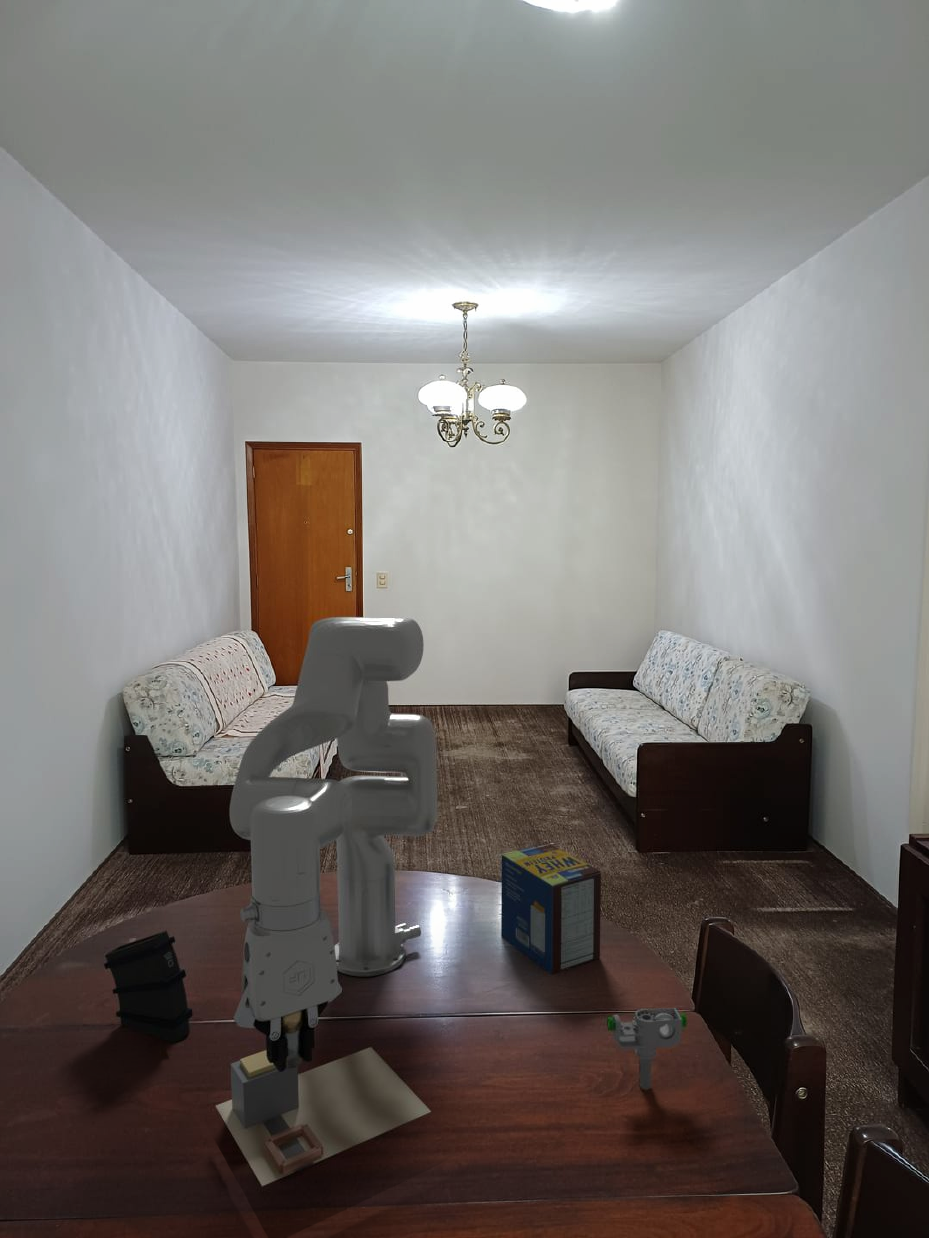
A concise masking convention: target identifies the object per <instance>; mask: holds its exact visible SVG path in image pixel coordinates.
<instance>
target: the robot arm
mask: <svg viewBox="0 0 929 1238" xmlns="http://www.w3.org/2000/svg"><path fill="white" fill-rule="evenodd" d="M310 627H311V628H310V629H309V635H308V642H307V646H306V650H305V653H304V658H303V662H302V666H301V669H300V673H299V678H298V682H297V686H296V689H295V692H294V693H295V694H294V697H293V702H292V704H291V706H290V707H289V708H287V709H286V710H284V711H283V712H281V713H280V714H278V715H277V716H276V717H274V718H273V719H272V720H271V721H269V723H267V724H266V725H265V726H264V727H263V729H261V730H260V731H259V732H258V733H257V734H256V736H254V738H253V739H251V741H250V743H248V745H247V747H246V749H245V751H244V752H243V755H242V756H241V757H242V758H241V761H240V764H239V767H238V771H237V774H236V778H235V780H234V785H233V789H232V792H231V798H230V803H229V822H230V824H231V827H232V829H233V832H234V833H235V834H237V835H238V836H239V837H241V839H245V840H247V841H250V855H251V858H250V860H251V863H250V865H251V889H252V893H251V894H252V896H250V904H249V905H248V906H246V907H244V908H241V909H240V919H241V921H242V922H247V921H249V922H248V924H247V928H246V932H245V939H244V944H243V950H242V951H243V952H242V965H241V967H242V968H241V998H240V1000H239V1003H238V1006H237V1008H236V1011H235V1014H234V1016H233V1021H234V1022H235V1024H236V1025H237V1026H238V1027H239V1028H248V1029H256V1030H257V1031H259V1033H262V1034H263V1035H264V1036H265V1050H266V1055H267V1059H268V1061H269V1062H270V1063H273V1064H274V1065H275V1067H276V1068H277V1069H278V1071H279V1072H282V1071H284V1070H285V1069H286V1049H285V1038H284V1037H283V1035H282V1034H281V1017H283V1016H286V1015H289V1014H292V1013H295V1012H299V1011H302V1027H301V1059H302V1060H303V1061H304V1062H306V1063H309V1062H311V1061H313V1055H312V1054H313V1053H312V1052H313V1051H312V1050H313V1049H314V1048H315V1027H316V1026H317V1025H318V1023H319V1018H320V1016H321V1014H322V1013H323V1012H324V1010H326V1008H327V1006H328V1004H329V1003H331V1002H332V1001H333V1000H334V999H335V998H338V996H339V995H341V994H342V991H343V988H342V985H341V984H340V982H339V981H338V980H339V979H338V976H339V975H338V972H340V973H341V974H344V975H348V976H353V977H360V978H361V977H363V978H364V977H365V978H366V977H374V976H375V977H376V976H380V975H384V974H387V973H389V972H393V971H394V970H396V969H397V968H398V967H400V966H401V965H402V964H403V962H404V961H405V957H406V956H405V955H406V950H405V946H404V945H403V944H405V943H406V941H407V940H412V939H416V938H418V937H421V935H422V931H421V927H420V925H418V924H416V925H413V926H409V927H408V926H407V924H406V923H403V922H402V923H400V924H396V864H395V863H396V861H395V857H394V856H395V855H394V853H393V850H392V848H391V846H390V845H389V842H387V840H386V839H385V837H384V836H398V837H399V836H401V837H402V836H404V837H406V836H407V837H412V836H413V837H417V836H418V837H421V836H425V835H427V834H429V833H430V832H431V831H432V830H433V829H434V828H435V825H436V822H437V817H438V816H437V815H438V776H437V773H438V771H437V745H436V744H437V742H436V740H437V739H436V733H435V729H434V726H433V724H432V722H431V721H430V719H428V718H427V717H426V716H424V715H421V714H415V713H414V714H413V713H392V711H390V706H389V685H388V682H402V681H405V680H407V679H408V678H410V676H412V675H413V674H414V673H415V672H416V671H417V670H418V669H419V667H420V664H421V663H422V662H421V661H422V659H423V655H424V643H425V642H424V636H423V635H424V634H423V631H422V629H421V626H420V625H419V623H417V621H416V620H414V619H412V618H403V617H365V616H363V617H361V616H355V617H354V616H339V617H337V616H336V617H327V618H326V617H325V618H323V619H320V620H317V621H315V622H314V623H313V624H312V626H310ZM336 739H337V740H336ZM333 740H336V741H337V743H336V745H337V752H338V758H339V761H340V762H341V765H342V766H343V767H344V768H346V769H348V770H350V771H354V772H362V773H387V774H388V773H389V774H390V773H392V774H393V773H394V774H395V773H396V774H404V775H405V776H388V775H354V776H348V777H346V778H343V779H341V780H339V781H338V780H336V779H330V778H312V777H311V778H310V777H306V778H305V777H291V776H290V777H286V776H283V777H282V776H271V775H272V773H273V772H274V771H275V769H276V768H277V767H278V766H279V765H281V764H282V763H283V762H285V761H286V760H288V759H289V758H291V757H293V756H296V755H298V754H300V753H303V752H304V751H308V750H311V749H314V748H315V747H319V746H321V745H323V744H326V743H328V742H330V741H333ZM335 841H336V843H335V844H336V854H337V855H336V860H337V908H338V910H337V911H338V912H337V913H338V915H337V916H338V919H337V920H338V943H335V941H334V935H333V931H332V926H331V925H332V924H331V921H330V916H329V914H328V913H327V912H326V911H325V910H323V909H322V903H321V902H322V899H321V894H322V893H321V892H322V891H321V858H320V857H321V855H320V853H321V851H320V850H321V849H324V848H326V847H327V846H329V845H330V844H332V843H334V842H335Z"/></svg>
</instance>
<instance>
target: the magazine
mask: <svg viewBox="0 0 929 1238" xmlns="http://www.w3.org/2000/svg"><path fill="white" fill-rule="evenodd" d="M175 942H176V939H175V936H169V933H168V931H167V930H164V931H161V932H158V933H155V934H153V935H149V936H147V937H143V938H140V939H138V940H134V941H132V942H128V943H125V944H122V945H119V946H118V947H116V948H114V949H113V950H110V951H109V952H107V953H105V954H104V957H105V959H106V962H105V963H104V964H103V967H104V969H105V970H108V969H109V970H110V972H111V975H112V978H113V980H114V981H113V982H114V984H115V988H114V989H112V994H113V995H115V994H116V995H117V997H118V1005H119V1010H117V1011H116V1012H115V1017H116V1018H120V1024H121V1026H123V1027H125V1028H128V1029H131V1030H135V1031H137V1032H141V1033H143V1034H146V1035H149V1036H153V1037H155V1038H159V1039H160V1040H164V1041H165V1042H166V1041H167V1042H170V1043H173V1044H177V1043H178V1042H179V1041H181V1040H182V1039H184V1038H185V1037H186V1036H187V1035H188V1034H190V1031H191V1030H190V1021H189V1019H190V1018H191V1017H193V1009H192V1008H189V1007H188V1001H187V992H186V987H185V983H184V978H186V977H187V974H186V970H185V969H181V968H180V964H179V960H178V956H177V953H176V951H175V948H174V946H173V944H174V943H175Z"/></svg>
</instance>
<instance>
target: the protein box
mask: <svg viewBox="0 0 929 1238" xmlns="http://www.w3.org/2000/svg"><path fill="white" fill-rule="evenodd" d="M500 885H501V890H500V891H501V893H500V895H501V896H500V897H501V898H500V899H501V906H500V907H501V909H500V911H501V913H500V915H501V919H500V922H501V924H500V925H501V926H500V927H501V928H500V930H501V931H500V936H501V938H503V939H504V940H505V941H507V942H508V943H510V944H511V945H512V946H514V947H515V948H516V949H518V950H519V951H520V952H522V953H523V954H524V955H526V956H527V957H528V958H529V959H531V960H532V961H533V962H535V963H536V964H537V965H538V966H540V967H541V968H542V969H544V970H545V971H546V972H548V973H549V974H551V975H552V974H553V975H554V974H556V973H559V972H562V971H565V970H568V969H572V968H574V967H577V966H579V965H583V964H586V963H589V962H592V961H595V960H598V959H600V958H601V917H602V916H601V913H602V912H601V909H602V908H601V907H602V906H601V903H602V871H601V870H599V869H598V868H596V867H594V866H592V865H590V864H588V863H586V862H585V861H583V860H581V859H579V858H578V857H575V856H573V855H571V854H569V853H568V852H566V851H564V850H562V849H560V848H558V847H557V846H555V845H553V844H551V843H549V842H546V843H543V844H536V845H534V846H529V847H526V848H521V849H518V850H516V849H515V850H513V851H509V852H505V853H501V884H500Z"/></svg>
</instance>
